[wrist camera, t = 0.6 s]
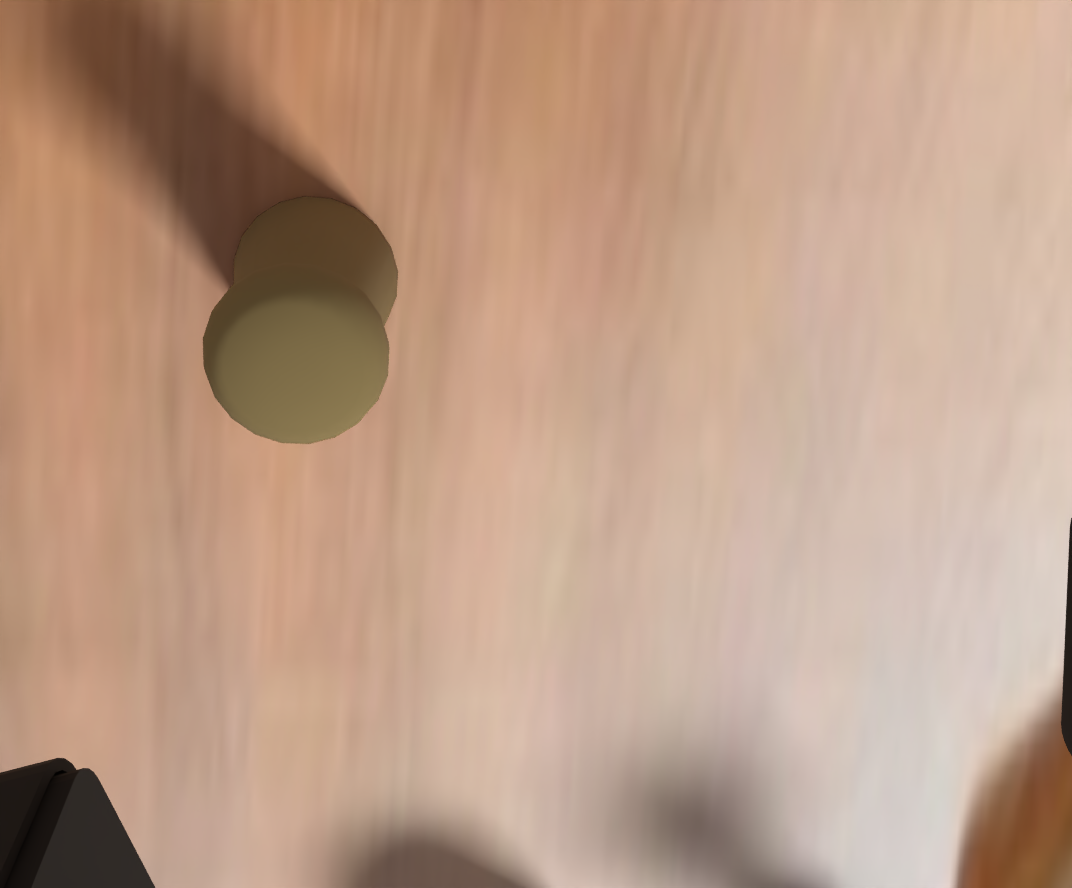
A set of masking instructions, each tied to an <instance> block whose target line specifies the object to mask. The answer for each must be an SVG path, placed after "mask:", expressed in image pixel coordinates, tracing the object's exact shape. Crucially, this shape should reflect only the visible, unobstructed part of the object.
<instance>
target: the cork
mask: <svg viewBox="0 0 1072 888" xmlns="http://www.w3.org/2000/svg"><path fill="white" fill-rule="evenodd" d="M397 278H398V270H397V267H396V263H395V259H394V256H393V252H392V249H391V246H390V245H389V243H388V242H387V240H386V239H385V237H384V236H383V234H382V233H381V231H380V230H379V228H378V226H377V225H376V224H374V223H373V222H372V221H371V220H370V219H368V218H367V217H366V216H365V215H363V214H362V213H361V212H360V211H359V210H357V209H356V208H353V207H351V206H348V205H346V204H344V203H341V202H339V201H336V200H334V199H330V198H318V197H306V196H305V197H300V198H296V199H292V200H288V201H284V202H280V203H278V204H276V205H275V206H273V207H272V208H270V209H268V210H267V211H265V212H264V213H262V214H260V215H259V216H257V218H256V219H255V220H254V221H253V223H252V224H251V225H250V227H249V228H248V229H247V230H246V232H245V233H244V234H243V235H242V237H241V240H240V243H239V246H238V249H237V252H236V255H235V258H234V284H233V285H232V286H231V287H230V289H229V290H228V291H227V292H226V294H225V295H224V296H223V297H222V299H221V300H220V301H219V302H218V304H217V305H216V306H215V308H214V309H213V311H212V312H211V315H210V318H209V321H208V324H207V327H206V330H205V333H204V337H203V360H204V369H205V372H206V375H207V378H208V380H209V383H210V386H211V388H212V391H213V394H214V396H215V398H216V399H217V400H218V402H219V403H220V404H221V405H222V407H223V408H224V409H225V410H226V412H227V413H228V414H229V415H230V417H231V418H232V419H233V420H235V421H236V422H238V423H239V424H241V425H242V426H244V427H245V428H246V429H248V430H249V431H251V432H252V433H254V434H256V435H259V436H262V437H265V438H268V439H271V440H274V441H277V442H280V443H295V444H311V443H315V442H319V441H323V440H327V439H331V438H335V437H336V436H338V435H340V434H341V433H343V432H345V431H346V430H348V429H350V428H351V427H353V426H355V425H356V424H358V423H359V421H360V420H361V419H362V418H363V417H364V416H365V414H366V413H367V412H368V411H369V410H370V409H371V408H372V406H373V405H374V404H375V403H376V402H377V401H378V399H379V396H380V394H381V391H382V389H383V386H384V384H385V381H386V379H387V376H388V364H389V342H388V338H387V335H386V332H385V328H384V325H385V323H386V321H387V319H388V317H389V314H390V312H391V309H392V306H393V304H394V301H395V299H396V296H397Z"/></svg>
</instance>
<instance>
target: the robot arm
mask: <svg viewBox="0 0 1072 888" xmlns="http://www.w3.org/2000/svg"><path fill="white" fill-rule="evenodd" d="M1061 726H1062V734H1063V738H1064V741H1065V743H1066V746H1067V748H1068V750H1069V752H1070V754H1071V755H1072V518H1071V524H1070V538H1069V560H1068V583H1067V606H1066V628H1065V651H1064V674H1063V696H1062V719H1061ZM0 888H155V886H154V884H153V882H152V881H151V879H150V877H149V875H148V873H147V871H146V869H145V867H144V865H143V863H142V861H141V859H140V858H139V856H138V854H137V852H136V850H135V848H134V846H133V844H132V842H131V840H130V838H129V836H128V834H127V833H126V831H125V829H124V827H123V825H122V823H121V821H120V819H119V817H118V815H117V813H116V811H115V810H114V808H113V806H112V804H111V802H110V800H109V798H108V796H107V794H106V792H105V790H104V788H103V787H102V785H101V783H100V781H99V779H98V777H97V776H96V775H95V773H94V772H93V771H91V770H90V769H88V768H83V769H79V770H76V769H75V767H74V766H73V764H72V763H70V762H69V761H68V760H66V759H64V758H56V759H52V760H48V761H44V762H40V763H36V764H33V765H29V766H25V767H21V768H17V769H13V770H9V771H5V772H2V773H0Z"/></svg>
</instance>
